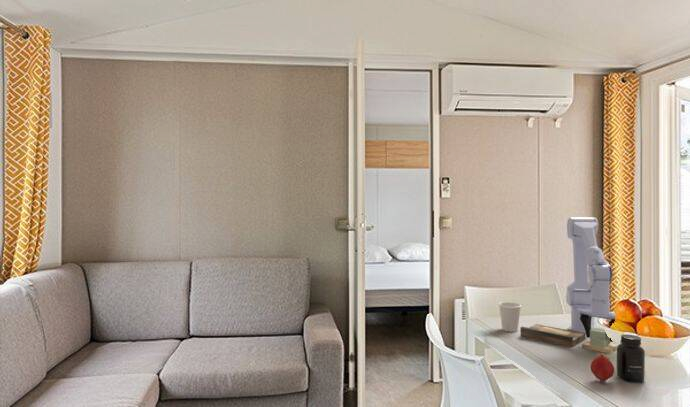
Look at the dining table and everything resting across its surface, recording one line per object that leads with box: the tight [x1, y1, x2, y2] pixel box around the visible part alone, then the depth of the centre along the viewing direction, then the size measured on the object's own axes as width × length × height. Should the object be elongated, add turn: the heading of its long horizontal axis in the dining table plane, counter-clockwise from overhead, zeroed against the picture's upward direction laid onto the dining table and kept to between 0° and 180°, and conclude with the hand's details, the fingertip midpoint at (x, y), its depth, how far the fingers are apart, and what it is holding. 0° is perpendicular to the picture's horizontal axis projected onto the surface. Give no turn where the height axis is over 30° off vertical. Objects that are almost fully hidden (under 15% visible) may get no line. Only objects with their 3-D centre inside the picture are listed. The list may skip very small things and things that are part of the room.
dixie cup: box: [498, 301, 522, 333], centre depth 181 cm, size 8×8×10 cm
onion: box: [590, 352, 615, 383], centre depth 129 cm, size 6×6×8 cm
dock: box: [519, 323, 586, 348], centre depth 170 cm, size 14×18×4 cm
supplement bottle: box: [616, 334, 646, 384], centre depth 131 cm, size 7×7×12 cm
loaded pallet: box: [581, 325, 617, 354], centre depth 158 cm, size 9×9×6 cm
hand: (600, 339), depth 158 cm, fingers open, 7 cm apart
